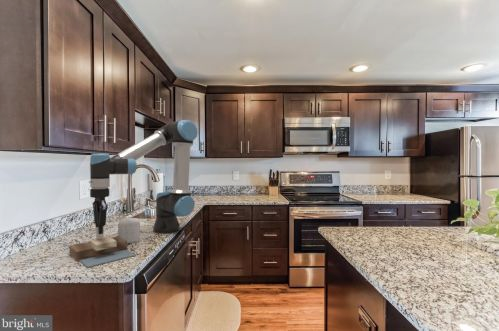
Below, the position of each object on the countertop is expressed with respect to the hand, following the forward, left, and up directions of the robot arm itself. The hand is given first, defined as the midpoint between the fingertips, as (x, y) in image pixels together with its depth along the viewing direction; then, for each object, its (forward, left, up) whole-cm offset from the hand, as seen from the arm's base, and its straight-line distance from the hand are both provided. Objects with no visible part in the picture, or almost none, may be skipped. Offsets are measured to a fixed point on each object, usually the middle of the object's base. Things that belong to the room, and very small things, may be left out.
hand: (99, 240), depth 117 cm
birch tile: (0, +5, -2) cm, 5 cm away
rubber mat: (0, +10, -6) cm, 12 cm away
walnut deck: (0, -1, -6) cm, 6 cm away
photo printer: (-15, -6, -6) cm, 18 cm away
